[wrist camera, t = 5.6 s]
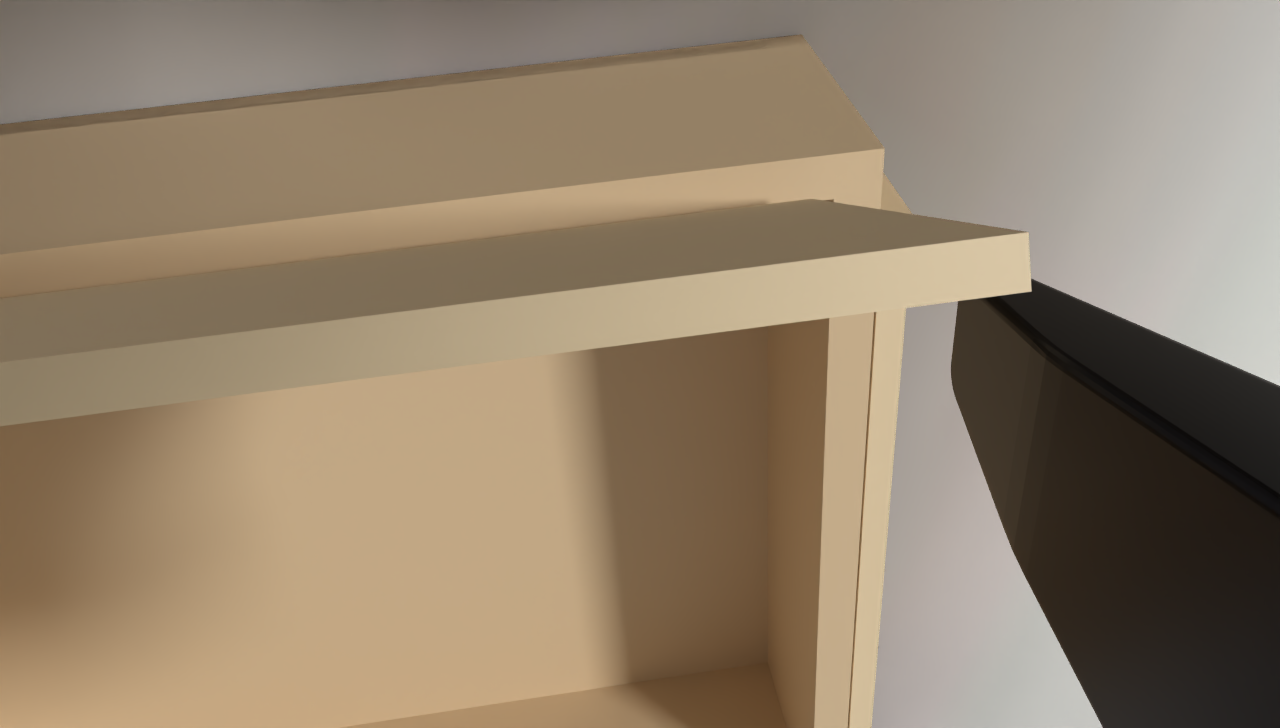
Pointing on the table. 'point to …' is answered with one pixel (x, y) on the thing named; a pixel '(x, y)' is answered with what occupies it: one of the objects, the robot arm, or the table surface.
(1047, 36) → the table surface
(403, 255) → the flap
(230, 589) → the carton
